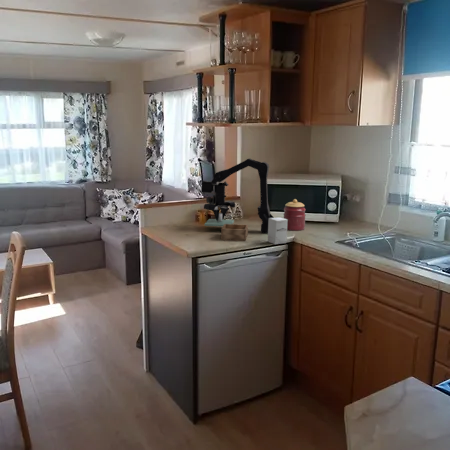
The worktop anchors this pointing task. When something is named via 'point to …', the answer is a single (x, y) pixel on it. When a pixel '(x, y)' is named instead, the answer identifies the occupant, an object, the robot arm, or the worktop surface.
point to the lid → (218, 223)
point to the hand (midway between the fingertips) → (219, 220)
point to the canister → (295, 215)
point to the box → (234, 232)
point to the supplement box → (277, 230)
